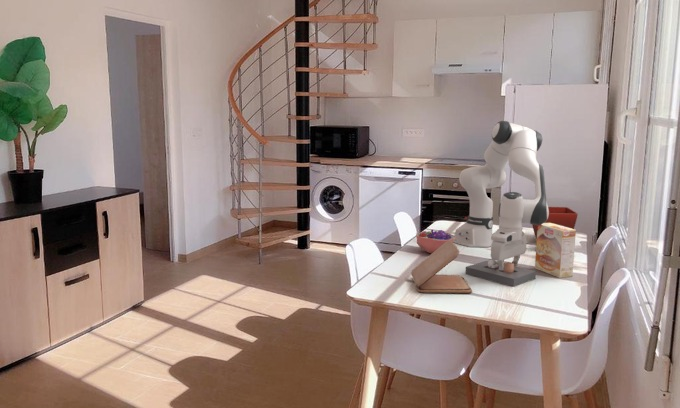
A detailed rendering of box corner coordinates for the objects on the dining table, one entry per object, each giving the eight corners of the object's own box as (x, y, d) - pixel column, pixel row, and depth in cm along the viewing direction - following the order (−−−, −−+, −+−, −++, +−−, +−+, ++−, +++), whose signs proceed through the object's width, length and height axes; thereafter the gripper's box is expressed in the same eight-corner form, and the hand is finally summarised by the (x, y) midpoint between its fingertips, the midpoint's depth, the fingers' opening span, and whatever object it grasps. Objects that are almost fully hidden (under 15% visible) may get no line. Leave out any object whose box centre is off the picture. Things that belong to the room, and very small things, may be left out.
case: (410, 277, 221) (411, 238, 219) (463, 278, 221) (465, 239, 218) (415, 294, 201) (416, 251, 198) (473, 295, 200) (475, 252, 198)
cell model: (433, 246, 274) (434, 223, 272) (462, 254, 257) (463, 230, 255) (406, 250, 265) (407, 227, 263) (435, 259, 248) (436, 235, 246)
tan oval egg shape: (500, 278, 221) (501, 263, 220) (506, 276, 223) (507, 261, 222) (509, 280, 218) (510, 265, 217) (515, 278, 220) (515, 263, 219)
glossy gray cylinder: (485, 274, 226) (486, 260, 225) (491, 272, 229) (491, 258, 228) (494, 276, 223) (494, 262, 222) (499, 274, 226) (500, 260, 225)
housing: (465, 273, 226) (465, 266, 226) (488, 267, 237) (488, 260, 236) (513, 286, 210) (514, 279, 209) (535, 278, 220) (536, 271, 220)
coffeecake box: (533, 268, 235) (536, 223, 232) (547, 266, 238) (550, 222, 234) (558, 278, 221) (562, 230, 218) (573, 276, 224) (576, 229, 221)
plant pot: (535, 245, 275) (538, 212, 273) (527, 237, 294) (529, 206, 291) (575, 247, 273) (578, 213, 270) (565, 238, 292) (567, 207, 289)
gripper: (517, 229, 227) (515, 261, 229) (488, 236, 213) (486, 270, 216) (531, 231, 222) (529, 265, 224) (503, 239, 209) (501, 274, 211)
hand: (508, 268), depth 220 cm, fingers open, 8 cm apart
